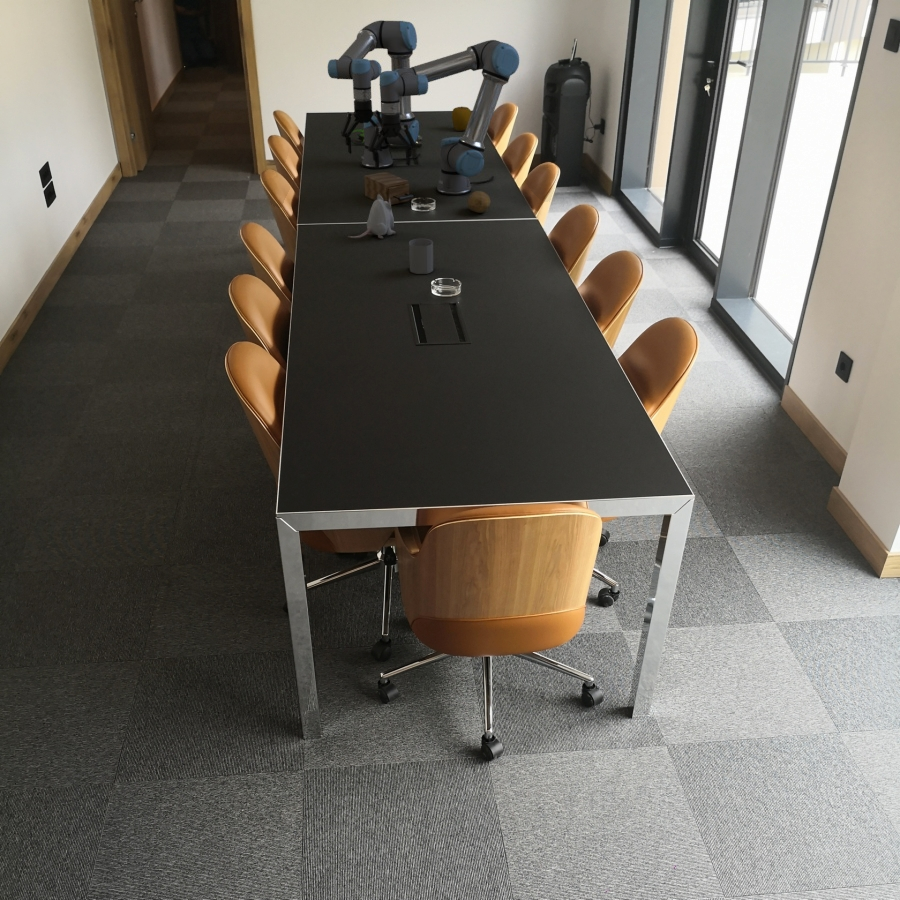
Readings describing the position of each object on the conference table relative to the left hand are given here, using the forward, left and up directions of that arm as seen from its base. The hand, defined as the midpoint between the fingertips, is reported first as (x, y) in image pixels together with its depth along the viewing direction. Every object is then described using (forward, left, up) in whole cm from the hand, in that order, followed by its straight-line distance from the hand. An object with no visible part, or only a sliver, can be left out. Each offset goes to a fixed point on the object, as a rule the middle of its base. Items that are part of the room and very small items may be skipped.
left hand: (365, 151), depth 375 cm
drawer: (+1, +15, -18) cm, 23 cm away
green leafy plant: (-79, -57, -19) cm, 99 cm away
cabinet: (-1, +10, -19) cm, 21 cm away
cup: (+60, +73, -19) cm, 97 cm away
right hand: (+7, +20, -2) cm, 22 cm away
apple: (-128, -35, -19) cm, 134 cm away
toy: (+44, +38, -19) cm, 61 cm away
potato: (-8, +54, -19) cm, 58 cm away
